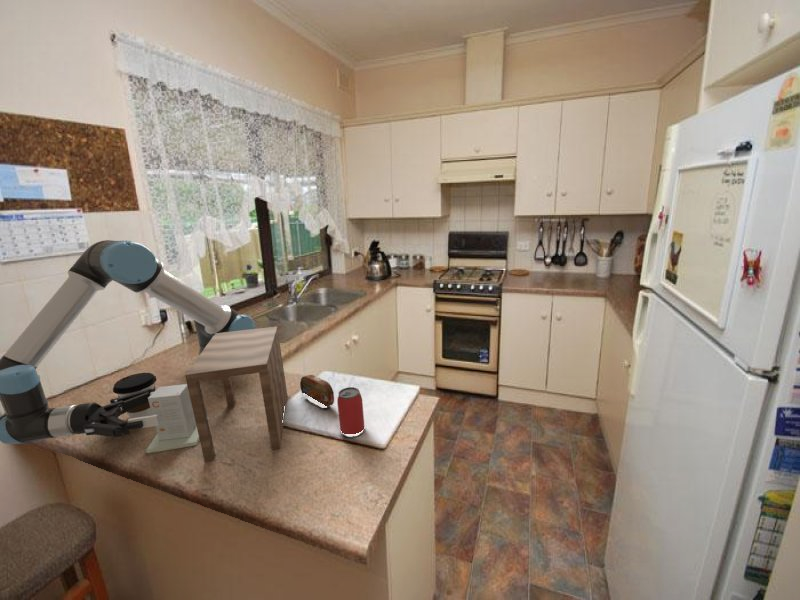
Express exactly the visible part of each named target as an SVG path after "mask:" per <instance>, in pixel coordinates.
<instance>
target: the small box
mask: <svg viewBox="0 0 800 600" xmlns="http://www.w3.org/2000/svg"><path fill="white" fill-rule="evenodd" d="M148 401H149V404H150V408H151V412H152V415H158V417H159V421H160V425H158V426H154V427H155V431H156V435H157V434H158V438H159V440H167V439H175V438H184V437H190V436H191V434H192V433H193V431H194V430H195V428H196V427H197V426H196V422H195V417H194V413H193V408H192V404H191V400H190V395H189V391H188V387H187V383H183V384H175V385H165V386H159V387H158V388H157V389H155V392H154V393H153V394H152V395H151V396H150V397H148Z"/></svg>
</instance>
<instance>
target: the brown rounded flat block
mask: <svg viewBox="0 0 800 600" xmlns="http://www.w3.org/2000/svg"><path fill="white" fill-rule="evenodd" d="M300 378H301V379H300V381H299V383H300V384H299V386H300V392H301V394H302V393H305V394H307V395H308V396H310V397H312V398H313V399H315V400H317V401H318V402H320V403H322V404H324V405H325V406H327V408H329V407H328V406H330V405H331V406H333V405H334V402H335V395H334V389H333V387H332V386H331V384H330V383H329V382H328V381H326V380H324V379H322V378H321V377H318V376H316V375H314V374H308V375H305V376H302V377H300ZM331 406H330V407H331Z"/></svg>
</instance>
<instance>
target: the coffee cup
mask: <svg viewBox="0 0 800 600" xmlns="http://www.w3.org/2000/svg"><path fill="white" fill-rule="evenodd" d="M156 382H157V376H156V375H154V373H152V372H140V373H135V374H130V375H128V376H125V377H122V378H120V379H119V380H117V381H116V382H115V383H114V384H113V387H112V392H113V394H116V395H117V398H120V397H123V396H127V395H130V394H133V393H137V392H140V391H143V390H147V389H150V388H151V389H152V391H153V392H155V391H156V384H155V383H156ZM126 413H127V415H128V417H129V419H131V418H138V417H144V416H151V415H152V412H151V408H150V404H149V402H147V403H144V404H142V405H139V406H137V407H134V408H132V409H129V410H127V412H126Z"/></svg>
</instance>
